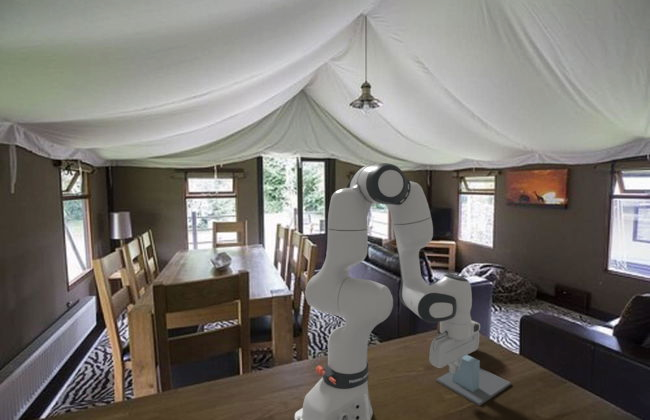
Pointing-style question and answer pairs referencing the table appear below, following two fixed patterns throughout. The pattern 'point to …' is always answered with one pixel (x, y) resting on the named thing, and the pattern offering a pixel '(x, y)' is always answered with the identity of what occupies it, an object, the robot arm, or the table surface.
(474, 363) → the block
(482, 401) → the mat
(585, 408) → the table surface
